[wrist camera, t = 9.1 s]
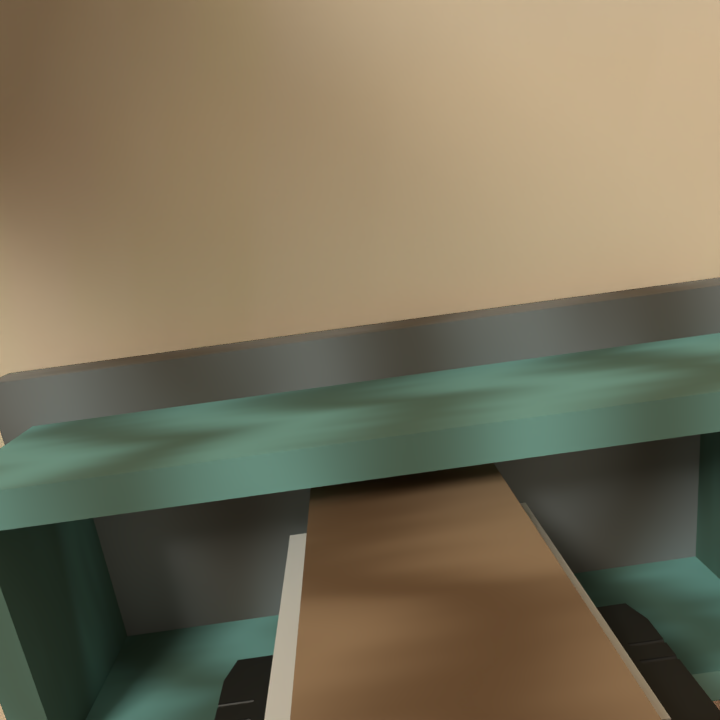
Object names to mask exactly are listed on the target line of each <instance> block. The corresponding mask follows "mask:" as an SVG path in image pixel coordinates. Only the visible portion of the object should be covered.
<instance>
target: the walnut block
mask: <svg viewBox="0 0 720 720" xmlns="http://www.w3.org/2000/svg"><path fill="white" fill-rule="evenodd" d="M290 720H662V719H661V718H660V716H659V715H658V713H657V712H656V710H655V709H654V707H653V706H652V704H651V703H650V701H649V700H648V698H647V696H646V695H645V693H644V692H643V690H642V689H641V687H640V686H639V684H638V683H637V681H636V680H635V678H634V677H633V675H632V674H631V672H630V671H629V669H628V667H627V666H626V664H625V663H624V661H623V660H622V658H621V657H620V655H619V654H618V652H617V651H616V649H615V648H614V646H613V645H612V643H611V642H610V640H609V639H608V637H607V635H606V634H605V632H604V631H603V629H602V628H601V626H600V625H599V623H598V622H597V620H596V619H595V617H594V616H593V614H592V613H591V611H590V610H589V608H588V606H587V605H586V603H585V602H584V600H583V599H582V597H581V596H580V594H579V593H578V591H577V590H576V588H575V587H574V585H573V584H572V582H571V581H570V579H569V577H568V576H567V574H566V573H565V571H564V570H563V568H562V567H561V565H560V564H559V562H558V561H557V559H556V558H555V556H554V555H553V553H552V552H551V550H550V548H549V547H548V545H547V544H546V542H545V541H544V539H543V538H542V536H541V535H540V533H539V532H538V530H537V529H536V527H535V526H534V524H533V523H532V521H531V520H530V518H529V516H528V515H527V513H526V512H525V510H524V509H523V507H522V506H521V504H520V503H519V501H518V500H517V498H516V497H515V495H514V494H513V492H512V491H511V489H510V487H509V486H508V484H507V483H506V481H505V480H504V478H503V477H502V475H501V474H500V472H499V471H498V469H497V468H496V466H495V465H494V463H488V464H480V465H473V466H466V467H459V468H451V469H444V470H437V471H430V472H422V473H415V474H408V475H401V476H393V477H386V478H379V479H372V480H364V481H357V482H350V483H343V484H335V485H328V486H321V487H314V488H311V490H310V501H309V512H308V524H307V535H306V546H305V557H304V568H303V580H302V591H301V602H300V613H299V624H298V636H297V647H296V658H295V669H294V680H293V692H292V703H291V714H290Z"/></svg>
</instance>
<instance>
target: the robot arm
mask: <svg viewBox="0 0 720 720" xmlns="http://www.w3.org/2000/svg"><path fill="white" fill-rule="evenodd" d="M520 504H521V506H522V507H523V509H524V510H525V512H526V513H527V515H528V516H529V518H530V520H531V521H532V523H533V524H534V526H535V527H536V529H537V530H538V532H539V533H540V535H541V536H542V538H543V539H544V541H545V542H546V544H547V545H548V547H549V548H550V550H551V552H552V553H553V555H554V556H555V558H556V559H557V561H558V562H559V564H560V565H561V567H562V568H563V570H564V571H565V573H566V574H567V576H568V577H569V579H570V581H571V582H572V584H573V585H574V587H575V588H576V590H577V591H578V593H579V594H580V596H581V597H582V599H583V600H584V602H585V603H586V605H587V606H588V608H589V610H590V611H591V613H592V614H593V616H594V617H595V619H596V620H597V622H598V623H599V625H600V626H601V628H602V629H603V631H604V632H605V634H606V635H607V637H608V639H609V640H610V642H611V643H612V645H613V646H614V648H615V649H616V651H617V652H618V654H619V655H620V657H621V658H622V660H623V661H624V663H625V664H626V666H627V667H628V669H629V671H630V672H631V674H632V675H633V677H634V678H635V680H636V681H637V683H638V684H639V686H640V687H641V689H642V690H643V692H644V693H645V695H646V696H647V698H648V700H649V701H650V703H651V704H652V706H653V707H654V709H655V710H656V712H657V713H658V715H659V716H660V718H661V719H662V720H720V710H719V709H718V708H717V707H716V705H715V704H714V703H713V701H712V700H711V699H710V698H709V696H708V695H707V694H706V693H705V691H704V690H703V689H702V687H701V686H700V685H699V684H698V682H697V681H696V680H695V678H694V677H693V676H692V675H691V673H690V672H689V671H688V670H687V668H686V667H685V666H684V664H683V663H682V662H681V661H680V659H677V657H676V654H675V653H674V652H673V650H672V649H671V648H670V647H669V645H668V644H667V643H666V642H664V640H663V638H662V636H661V635H660V634H659V633H658V631H657V630H656V629H655V627H654V626H653V625H652V624H651V622H650V621H649V620H648V619H647V618H646V617H644V616H643V615H642V614H640V613H639V612H637V611H636V610H634V609H633V608H632V607H630V606H629V605H627V604H626V603H623V604H616V605H609V606H602V607H596V606H595V605H594V603H593V602H592V601H591V599H590V598H589V596H588V595H587V593H586V592H585V590H584V589H583V587H582V586H581V584H580V583H579V581H578V580H577V578H576V577H575V575H574V574H573V572H572V571H571V569H570V568H569V566H568V565H567V563H566V562H565V560H564V559H563V557H562V556H561V554H560V553H559V552H558V550H557V549H556V547H555V546H554V544H553V543H552V541H551V540H550V538H549V537H548V535H547V534H546V532H545V531H544V529H543V528H542V526H541V525H540V523H539V522H538V520H537V519H536V517H535V516H534V514H533V513H532V511H531V510H530V508H529V507H528V505H527V504H526V503H520ZM306 535H307V533H304V534H296V535H290V539H289V546H288V554H287V561H286V568H285V575H284V582H283V589H282V596H281V604H280V611H279V618H278V625H277V632H276V639H275V646H274V654H273V655H269V656H262V657H255V658H248V659H241V660H237V662H236V663H235V665H234V666H233V668H232V669H231V671H230V672H229V674H228V675H227V677H226V678H225V680H224V682H223V686H222V690H221V694H220V698H219V703H218V708H217V711H216V715H215V719H214V720H290V714H291V703H292V692H293V680H294V669H295V658H296V647H297V636H298V624H299V613H300V602H301V591H302V580H303V568H304V557H305V546H306Z"/></svg>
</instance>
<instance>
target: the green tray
mask: <svg viewBox="0 0 720 720" xmlns="http://www.w3.org/2000/svg"><path fill="white" fill-rule="evenodd" d="M0 431H1V434H2V438H3V441H4V444H5V445H4V446H3V447H2V448H0V704H1V706H2V709H3V712H4V714H5V717H6V720H214V719H215V715H216V711H217V708H218V703H219V698H220V694H221V690H222V686H223V682H224V680H225V678H226V677H227V675H228V674H229V672H230V671H231V669H232V668H233V666H234V665H235V663H236V662H237V660H241V659H248V658H255V657H262V656H269V655H273V654H274V646H275V639H276V632H277V625H278V618H279V611H280V604H281V596H282V589H283V582H284V575H285V568H286V561H287V554H288V546H289V539H290V535H296V534H304V533H307V524H308V512H309V501H310V490H311V488H314V487H321V486H328V485H335V484H343V483H350V482H357V481H364V480H372V479H379V478H386V477H393V476H401V475H408V474H415V473H422V472H430V471H437V470H444V469H451V468H459V467H466V466H473V465H480V464H488V463H494V465H495V466H496V468H497V469H498V471H499V472H500V474H501V475H502V477H503V478H504V480H505V481H506V483H507V484H508V486H509V487H510V489H511V491H512V492H513V494H514V495H515V497H516V498H517V500H518V501H519V503H526V504H527V505H528V507H529V508H530V510H531V511H532V513H533V514H534V516H535V517H536V519H537V520H538V522H539V523H540V525H541V526H542V528H543V529H544V531H545V532H546V534H547V535H548V537H549V538H550V540H551V541H552V543H553V544H554V546H555V547H556V549H557V550H558V552H559V553H560V554H561V556H562V557H563V559H564V560H565V562H566V563H567V565H568V566H569V568H570V569H571V571H572V572H573V574H574V575H575V577H576V578H577V580H578V581H579V583H580V584H581V586H582V587H583V589H584V590H585V592H586V593H587V595H588V596H589V598H590V599H591V601H592V602H593V603H594V605H595V606H596V607H602V606H609V605H616V604H623V603H626V604H627V605H629V606H630V607H632V608H633V609H634V610H636V611H637V612H639V613H640V614H642V615H643V616H644V617H646V618H647V619H648V620H649V621H650V622H651V624H652V625H653V626H654V627H655V629H656V630H657V631H658V633H659V634H660V635H661V636H662V638H663V640H664V642H666V643H667V644H668V645H669V647H670V648H671V649H672V650H673V652H674V653H675V654H676V657H677V659H680V661H681V662H682V663H683V664H684V666H685V667H686V668H687V670H688V671H689V672H690V673H691V675H692V676H693V677H694V678H695V680H696V681H697V682H698V684H699V685H700V686H701V687H702V689H703V690H704V691H705V693H706V694H707V695H708V696H709V698H710V699H711V700H712V701H717V700H720V278H713V279H705V280H698V281H691V282H683V283H676V284H668V285H661V286H654V287H646V288H639V289H631V290H624V291H616V292H609V293H602V294H594V295H587V296H579V297H572V298H565V299H557V300H550V301H542V302H535V303H528V304H520V305H513V306H505V307H498V308H490V309H483V310H476V311H468V312H461V313H453V314H446V315H439V316H431V317H424V318H416V319H409V320H401V321H394V322H387V323H379V324H372V325H364V326H357V327H350V328H342V329H335V330H327V331H320V332H312V333H305V334H298V335H290V336H283V337H275V338H268V339H261V340H253V341H246V342H238V343H231V344H223V345H216V346H209V347H201V348H194V349H186V350H179V351H172V352H164V353H157V354H149V355H142V356H134V357H127V358H120V359H112V360H105V361H97V362H90V363H83V364H75V365H68V366H60V367H53V368H45V369H38V370H31V371H23V372H16V373H9V374H7V375H5V376H2V377H0Z"/></svg>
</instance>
